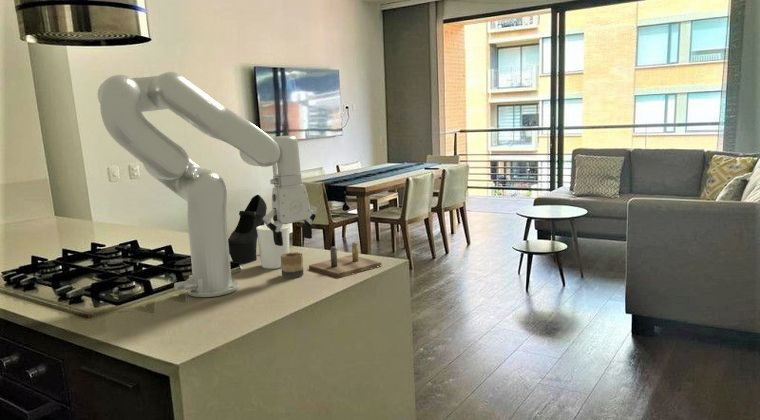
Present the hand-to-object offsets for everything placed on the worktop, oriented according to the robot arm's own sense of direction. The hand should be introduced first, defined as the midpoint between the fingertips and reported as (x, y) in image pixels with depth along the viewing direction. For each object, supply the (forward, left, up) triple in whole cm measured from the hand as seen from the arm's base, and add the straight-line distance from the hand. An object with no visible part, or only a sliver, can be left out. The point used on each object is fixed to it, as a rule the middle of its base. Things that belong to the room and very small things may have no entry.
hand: (293, 241), depth 154 cm
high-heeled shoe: (+1, +27, -10) cm, 29 cm away
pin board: (+14, -5, -10) cm, 18 cm away
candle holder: (+2, +14, -10) cm, 17 cm away
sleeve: (-1, 0, -10) cm, 10 cm away
